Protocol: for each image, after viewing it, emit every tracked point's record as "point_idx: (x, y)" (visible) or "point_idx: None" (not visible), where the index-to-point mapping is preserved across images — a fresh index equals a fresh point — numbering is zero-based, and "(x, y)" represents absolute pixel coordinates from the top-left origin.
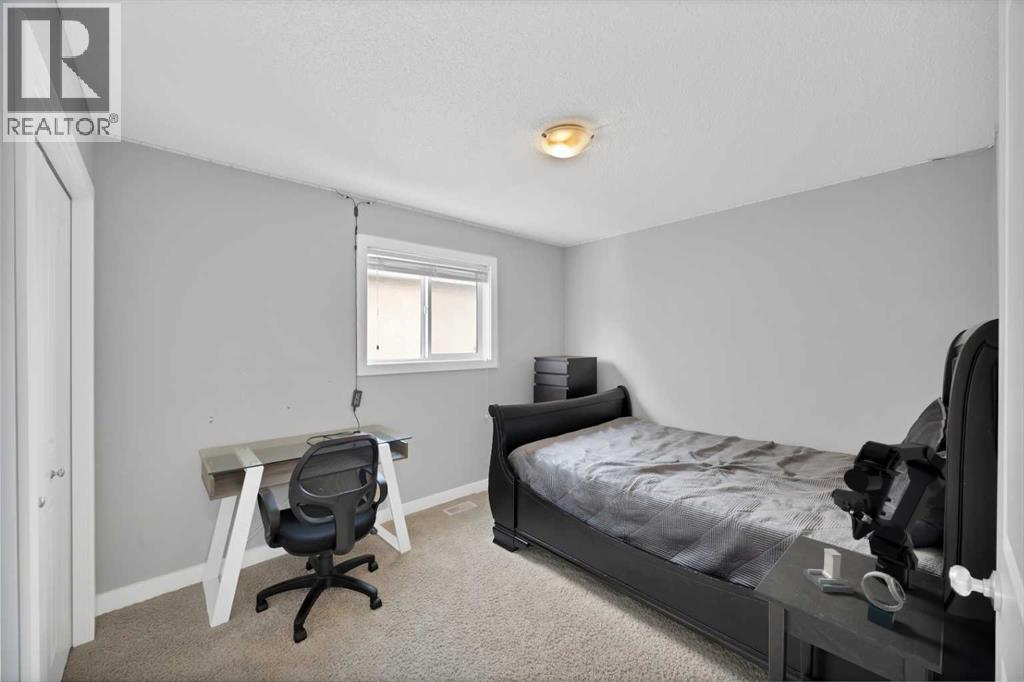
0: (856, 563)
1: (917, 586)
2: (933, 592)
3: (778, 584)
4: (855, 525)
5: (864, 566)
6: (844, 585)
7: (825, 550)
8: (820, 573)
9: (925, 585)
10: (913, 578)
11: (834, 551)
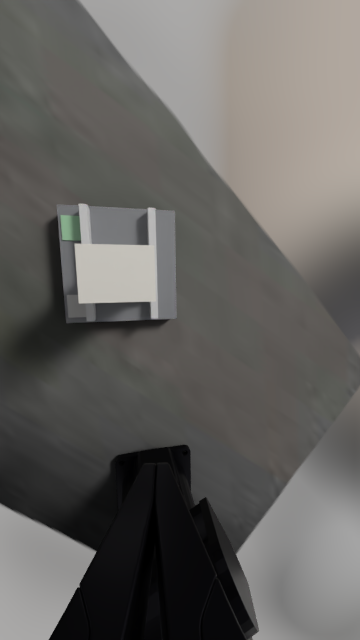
0: (248, 439)
1: None
2: None
3: (90, 60)
4: (165, 628)
5: (234, 453)
6: (75, 296)
7: (142, 247)
8: None
9: None
10: None
11: (122, 287)
